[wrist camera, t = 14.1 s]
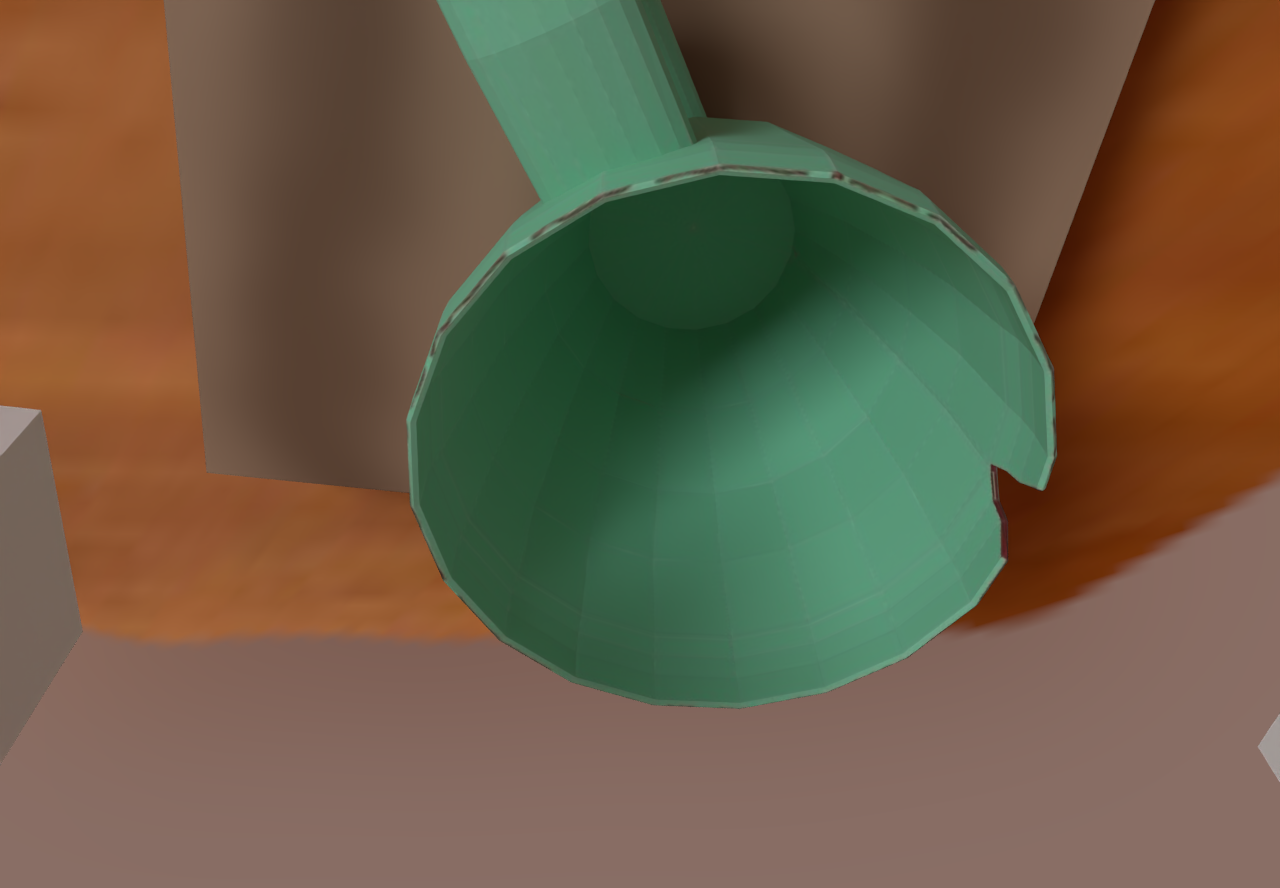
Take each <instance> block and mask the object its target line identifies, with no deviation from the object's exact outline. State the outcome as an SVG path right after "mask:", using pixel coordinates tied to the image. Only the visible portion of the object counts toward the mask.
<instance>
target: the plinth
mask: <svg viewBox="0 0 1280 888" xmlns="http://www.w3.org/2000/svg"><path fill="white" fill-rule="evenodd" d="M1154 2H1155V0H661V3H662V5H663V8H664V10H665V13H666V16H667V18H668V21H669V23H670V26H671V28H672V31H673V33H674V36H675V38H676V41H677V43H678V46H679V48H680V51H681V53H682V56H683V58H684V61H685V63H686V66H687V68H688V71H689V73H690V76H691V78H692V81H693V83H694V86H695V89H696V91H697V94H698V96H699V99H700V101H701V104H702V106H703V109H704V111H705V114H706V116H707V117H708V118H721V119H735V120H749V121H762V122H769V123H771V124H774V125H776V126H778V127H781V128H783V129H785V130H788V131H790V132H793V133H795V134H797V135H800V136H802V137H804V138H807V139H809V140H812V141H814V142H816V143H819V144H821V145H823V146H826V147H828V148H831V149H833V150H835V151H837V152H839V153H842V154H844V155H846V156H848V157H850V158H852V159H855V160H857V161H859V162H861V163H863V164H865V165H868V166H870V167H872V168H874V169H876V170H878V171H880V172H882V173H884V174H886V175H888V176H890V177H892V178H894V179H896V180H899V181H901V182H903V183H905V184H907V185H909V186H911V187H913V188H916V189H918V190H920V191H921V192H922V193H923V194H924V195H925V196H927V197H928V198H929V199H930V200H931V201H932V202H933V203H934V204H935V205H936V206H938V207H939V208H940V209H941V210H942V211H943V212H944V213H945V214H946V215H947V216H948V217H949V218H950V219H951V220H952V221H954V222H955V223H956V224H957V225H958V226H959V227H960V228H961V229H962V230H963V231H964V232H965V233H966V234H967V235H968V236H970V237H971V238H972V239H973V240H974V241H975V242H976V243H977V244H978V245H979V246H980V247H981V248H982V249H983V250H985V251H986V252H987V253H988V254H989V255H990V256H991V257H992V258H993V259H994V260H995V261H996V262H997V263H998V264H999V265H1001V266H1002V268H1003V269H1004V270H1005V272H1006V273H1007V274H1008V276H1009V277H1010V278H1011V280H1012V281H1013V282H1014V284H1015V285H1016V287H1017V289H1018V292H1019V294H1020V296H1021V298H1022V300H1023V302H1024V305H1025V307H1026V309H1027V311H1028V313H1029V315H1030V318H1031V320H1032V322H1033V324H1034V322H1035V319H1036V317H1037V314H1038V311H1039V309H1040V306H1041V303H1042V301H1043V298H1044V295H1045V293H1046V290H1047V287H1048V285H1049V282H1050V279H1051V277H1052V274H1053V271H1054V269H1055V266H1056V263H1057V261H1058V258H1059V255H1060V253H1061V250H1062V247H1063V245H1064V242H1065V239H1066V237H1067V234H1068V231H1069V229H1070V226H1071V223H1072V221H1073V218H1074V215H1075V213H1076V210H1077V207H1078V205H1079V202H1080V199H1081V196H1082V194H1083V191H1084V188H1085V186H1086V183H1087V180H1088V178H1089V175H1090V172H1091V170H1092V167H1093V164H1094V162H1095V159H1096V156H1097V154H1098V151H1099V148H1100V146H1101V143H1102V140H1103V138H1104V135H1105V132H1106V130H1107V127H1108V124H1109V122H1110V119H1111V116H1112V114H1113V111H1114V108H1115V106H1116V103H1117V100H1118V98H1119V95H1120V92H1121V90H1122V87H1123V84H1124V82H1125V79H1126V76H1127V74H1128V71H1129V68H1130V66H1131V63H1132V60H1133V58H1134V55H1135V52H1136V50H1137V47H1138V44H1139V42H1140V39H1141V36H1142V34H1143V31H1144V28H1145V26H1146V23H1147V20H1148V18H1149V15H1150V12H1151V10H1152V7H1153V4H1154ZM164 7H165V18H166V29H167V40H168V51H169V62H170V73H171V84H172V95H173V106H174V117H175V128H176V139H177V150H178V161H179V172H180V183H181V194H182V205H183V216H184V227H185V238H186V249H187V260H188V271H189V282H190V293H191V304H192V315H193V326H194V337H195V348H196V359H197V370H198V381H199V393H200V404H201V415H202V426H203V437H204V448H205V459H206V470H207V473H215V474H225V475H235V476H245V477H255V478H265V479H275V480H285V481H295V482H305V483H315V484H325V485H335V486H345V487H355V488H365V489H375V490H385V491H395V492H405V493H410V491H409V469H408V446H407V423H406V419H407V416H408V413H409V409H410V406H411V403H412V399H413V396H414V394H415V391H416V388H417V385H418V382H419V379H420V376H421V373H422V371H423V368H424V365H425V362H426V359H427V356H428V353H429V351H430V348H431V345H432V342H433V339H434V336H435V333H436V330H437V328H438V325H439V322H440V319H441V316H442V313H443V311H444V309H445V307H446V306H447V304H448V302H449V300H450V299H451V298H452V296H453V295H454V294H455V293H456V292H457V290H458V289H459V288H460V287H461V285H462V284H463V283H464V282H465V281H466V279H467V278H468V277H469V276H470V275H471V273H472V272H473V271H474V270H475V269H476V267H477V266H478V265H479V264H480V263H481V261H482V260H483V259H484V258H485V256H486V255H487V254H488V253H489V252H490V250H491V249H492V248H493V247H494V246H495V244H496V243H497V242H498V241H499V240H500V238H501V237H502V236H503V235H504V234H505V232H506V231H507V230H508V229H509V227H510V226H511V225H512V224H513V223H514V222H515V221H516V220H517V219H518V218H519V217H520V216H521V215H523V214H524V213H525V212H526V211H528V210H529V209H530V208H531V207H533V206H534V205H535V204H537V203H538V202H539V201H540V198H539V196H538V194H537V192H536V190H535V189H534V187H533V185H532V183H531V181H530V179H529V177H528V175H527V174H526V172H525V170H524V168H523V166H522V164H521V162H520V161H519V159H518V157H517V155H516V153H515V151H514V149H513V148H512V146H511V144H510V142H509V140H508V138H507V136H506V135H505V133H504V131H503V129H502V127H501V125H500V123H499V121H498V120H497V118H496V116H495V114H494V112H493V110H492V108H491V107H490V105H489V103H488V101H487V99H486V97H485V95H484V94H483V92H482V90H481V88H480V86H479V84H478V82H477V80H476V79H475V77H474V75H473V73H472V71H471V69H470V67H469V66H468V64H467V62H466V60H465V58H464V56H463V54H462V52H461V50H460V48H459V46H458V44H457V42H456V40H455V38H454V35H453V33H452V31H451V29H450V27H449V25H448V23H447V21H446V19H445V17H444V15H443V13H442V11H441V9H440V7H439V5H438V3H437V1H436V0H164Z"/></svg>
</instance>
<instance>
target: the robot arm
mask: <svg viewBox="0 0 1280 888" xmlns="http://www.w3.org/2000/svg"><path fill="white" fill-rule="evenodd" d="M82 632H83V631H82V625H81V620H80V615H79V609H78V604H77V599H76V593H75V588H74V583H73V577H72V572H71V567H70V561H69V556H68V551H67V545H66V540H65V535H64V529H63V524H62V519H61V513H60V508H59V503H58V497H57V492H56V487H55V481H54V476H53V471H52V465H51V460H50V455H49V449H48V444H47V439H46V433H45V428H44V423H43V417H42V412H41V410H35V409H26V408H17V407H8V406H0V764H1V763H2V761H3V760H4V758H5V756H6V755H7V753H8V752H9V750H10V748H11V747H12V745H13V743H14V742H15V740H16V739H17V737H18V735H19V733H20V732H21V730H22V729H23V727H24V725H25V724H26V722H27V721H28V719H29V718H30V716H31V714H32V713H33V711H34V709H35V708H36V706H37V705H38V703H39V701H40V700H41V698H42V697H43V695H44V693H45V692H46V690H47V688H48V687H49V685H50V684H51V682H52V680H53V678H54V677H55V675H56V674H57V672H58V671H59V669H60V667H61V666H62V664H63V663H64V661H65V659H66V658H67V656H68V654H69V653H70V651H71V650H72V648H73V646H74V645H75V643H76V642H77V640H78V638H79V637H80V635H81V633H82ZM1258 748H1259V749H1260V751H1261V753H1262V754H1263V756H1264V758H1265V759H1266V761H1267V762H1268V764H1269V766H1270V767H1271V769H1272V770H1273V772H1274V774H1275V775H1276V777H1277V778H1278V780H1279V782H1280V714H1279V715H1278V717H1277V718H1276V720H1275V721H1274V723H1273V724H1272V726H1271V727H1270V729H1269V730H1268V732H1267V733H1266V735H1265V736H1264V738H1263V739H1262V741H1261V742H1260V744H1259V745H1258Z"/></svg>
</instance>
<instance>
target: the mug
mask: <svg viewBox="0 0 1280 888" xmlns="http://www.w3.org/2000/svg"><path fill="white" fill-rule="evenodd" d="M436 1H437V3H438V5H439V7H440V9H441V11H442V13H443V15H444V17H445V19H446V21H447V23H448V25H449V27H450V29H451V31H452V33H453V35H454V38H455V40H456V42H457V44H458V46H459V48H460V50H461V52H462V54H463V56H464V58H465V60H466V62H467V64H468V66H469V67H470V69H471V71H472V73H473V75H474V77H475V79H476V80H477V82H478V84H479V86H480V88H481V90H482V92H483V94H484V95H485V97H486V99H487V101H488V103H489V105H490V107H491V108H492V110H493V112H494V114H495V116H496V118H497V120H498V121H499V123H500V125H501V127H502V129H503V131H504V133H505V135H506V136H507V138H508V140H509V142H510V144H511V146H512V148H513V149H514V151H515V153H516V155H517V157H518V159H519V161H520V162H521V164H522V166H523V168H524V170H525V172H526V174H527V175H528V177H529V179H530V181H531V183H532V185H533V187H534V189H535V190H536V192H537V194H538V196H539V198H540V201H539V202H538V203H537V204H535V205H534V206H533V207H531V208H530V209H529V210H528V211H526V212H525V213H524V214H523V215H521V216H520V217H519V218H518V219H517V220H516V221H515V222H514V223H513V224H512V225H511V226H510V227H509V229H508V230H507V231H506V232H505V234H504V235H503V236H502V237H501V238H500V240H499V241H498V242H497V243H496V244H495V246H494V247H493V248H492V249H491V250H490V252H489V253H488V254H487V255H486V256H485V258H484V259H483V260H482V261H481V263H480V264H479V265H478V266H477V267H476V269H475V270H474V271H473V272H472V273H471V275H470V276H469V277H468V278H467V279H466V281H465V282H464V283H463V284H462V285H461V287H460V288H459V289H458V290H457V292H456V293H455V294H454V295H453V296H452V298H451V299H450V300H449V302H448V304H447V306H446V307H445V309H444V311H443V313H442V316H441V319H440V322H439V325H438V328H437V330H436V333H435V336H434V339H433V342H432V345H431V348H430V351H429V353H428V356H427V359H426V362H425V365H424V368H423V371H422V373H421V376H420V379H419V382H418V385H417V388H416V391H415V394H414V396H413V399H412V403H411V406H410V409H409V413H408V416H407V419H406V423H407V446H408V469H409V491H410V506H411V508H412V511H413V513H414V515H415V518H416V520H417V522H418V524H419V527H420V529H421V531H422V533H423V536H424V538H425V540H426V542H427V545H428V547H429V549H430V552H431V554H432V556H433V558H434V561H435V563H436V565H437V567H438V570H439V572H440V574H441V576H442V579H443V581H444V582H445V583H446V584H447V585H448V586H449V587H450V588H451V589H452V590H453V591H454V592H455V594H456V595H457V596H458V597H459V598H460V599H461V600H462V601H463V602H464V603H465V604H466V605H467V606H468V607H469V609H470V610H471V611H472V612H473V613H474V614H475V615H476V616H477V617H478V618H479V619H480V620H481V621H482V622H483V624H484V625H485V626H486V627H487V628H488V629H489V630H490V631H491V632H492V633H493V634H494V635H495V636H496V637H497V639H498V640H499V641H501V642H503V643H505V644H506V645H508V646H510V647H512V648H513V649H515V650H517V651H518V652H520V653H522V654H524V655H525V656H527V657H529V658H530V659H532V660H534V661H536V662H537V663H539V664H541V665H543V666H544V667H546V668H548V669H549V670H551V671H553V672H554V673H556V674H558V675H560V676H562V677H563V678H565V679H567V680H568V681H570V682H572V683H576V684H579V685H583V686H586V687H590V688H594V689H597V690H601V691H604V692H608V693H612V694H615V695H619V696H622V697H626V698H630V699H633V700H637V701H640V702H644V703H648V704H651V705H662V706H688V707H713V708H737V709H740V708H746V707H752V706H757V705H763V704H768V703H773V702H778V701H784V700H789V699H795V698H800V697H806V696H811V695H816V694H822V693H827V692H829V691H832V690H834V689H836V688H838V687H841V686H843V685H846V684H848V683H850V682H853V681H855V680H857V679H859V678H862V677H864V676H866V675H869V674H871V673H873V672H876V671H878V670H880V669H883V668H885V667H887V666H890V665H892V664H894V663H897V662H899V661H901V660H904V659H906V658H908V657H909V656H911V655H912V654H913V653H914V652H916V651H917V650H918V649H920V648H921V647H922V646H924V645H925V644H926V643H928V642H929V641H930V640H932V639H933V638H934V637H936V636H937V635H938V634H940V633H941V632H942V631H944V630H945V629H946V628H947V627H949V626H950V625H951V624H953V623H954V622H955V621H957V620H958V619H959V618H961V617H962V616H963V615H965V614H966V613H967V612H969V611H970V610H971V609H973V608H974V607H975V606H976V605H977V604H978V603H979V602H980V600H981V599H982V597H983V596H984V594H985V593H986V592H987V590H988V589H989V587H990V586H991V584H992V583H993V582H994V580H995V579H996V577H997V576H998V574H999V573H1000V572H1001V570H1002V569H1003V567H1004V566H1005V564H1006V563H1007V562H1008V520H1007V517H1006V515H1005V513H1004V510H1003V508H1002V505H1001V503H1000V500H999V489H998V476H997V467H998V468H1001V469H1003V470H1005V471H1007V472H1008V473H1009V474H1010V475H1011V476H1013V477H1014V478H1015V479H1016V480H1017V481H1018V482H1019V483H1022V484H1025V485H1028V486H1031V487H1033V488H1035V489H1037V490H1039V491H1043V490H1045V489H1046V486H1047V483H1048V480H1049V477H1050V474H1051V471H1052V468H1053V466H1054V463H1055V460H1056V457H1057V442H1056V413H1055V384H1054V368H1053V366H1052V363H1051V361H1050V359H1049V357H1048V355H1047V353H1046V350H1045V348H1044V346H1043V344H1042V342H1041V339H1040V337H1039V335H1038V333H1037V331H1036V329H1035V326H1034V324H1033V322H1032V320H1031V318H1030V315H1029V313H1028V311H1027V309H1026V307H1025V305H1024V302H1023V300H1022V298H1021V296H1020V294H1019V292H1018V289H1017V287H1016V285H1015V284H1014V282H1013V281H1012V280H1011V278H1010V277H1009V276H1008V274H1007V273H1006V272H1005V270H1004V269H1003V268H1002V266H1001V265H999V264H998V263H997V262H996V261H995V260H994V259H993V258H992V257H991V256H990V255H989V254H988V253H987V252H986V251H985V250H983V249H982V248H981V247H980V246H979V245H978V244H977V243H976V242H975V241H974V240H973V239H972V238H971V237H970V236H968V235H967V234H966V233H965V232H964V231H963V230H962V229H961V228H960V227H959V226H958V225H957V224H956V223H955V222H954V221H952V220H951V219H950V218H949V217H948V216H947V215H946V214H945V213H944V212H943V211H942V210H941V209H940V208H939V207H938V206H936V205H935V204H934V203H933V202H932V201H931V200H930V199H929V198H928V197H927V196H925V195H924V194H923V193H922V192H921V191H920V190H918V189H916V188H913V187H911V186H909V185H907V184H905V183H903V182H901V181H899V180H896V179H894V178H892V177H890V176H888V175H886V174H884V173H882V172H880V171H878V170H876V169H874V168H872V167H870V166H868V165H865V164H863V163H861V162H859V161H857V160H855V159H852V158H850V157H848V156H846V155H844V154H842V153H839V152H837V151H835V150H833V149H831V148H828V147H826V146H823V145H821V144H819V143H816V142H814V141H812V140H809V139H807V138H804V137H802V136H800V135H797V134H795V133H793V132H790V131H788V130H785V129H783V128H781V127H778V126H776V125H774V124H771V123H769V122H762V121H749V120H735V119H721V118H708V117H707V116H706V114H705V111H704V109H703V106H702V104H701V101H700V99H699V96H698V94H697V91H696V89H695V86H694V83H693V81H692V78H691V76H690V73H689V71H688V68H687V66H686V63H685V61H684V58H683V56H682V53H681V51H680V48H679V46H678V43H677V41H676V38H675V36H674V33H673V31H672V28H671V26H670V23H669V21H668V18H667V16H666V13H665V10H664V8H663V5H662V3H661V0H436Z"/></svg>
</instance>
